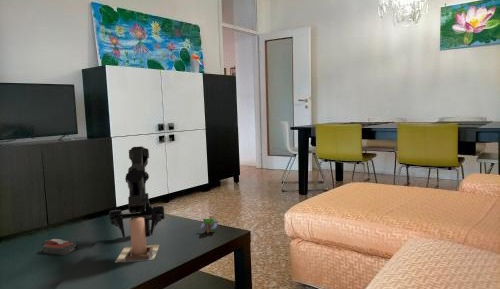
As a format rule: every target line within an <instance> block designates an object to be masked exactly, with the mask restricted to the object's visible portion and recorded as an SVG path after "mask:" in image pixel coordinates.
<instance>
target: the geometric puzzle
mask: <svg viewBox="0 0 500 289" xmlns="http://www.w3.org/2000/svg"><path fill="white" fill-rule="evenodd" d="M218 225H219V222H218V220H217V219H216V218H215V217H212V216H209V218H202V222H201V225H200V228H199V229H200V230H204V231H205V232H204V233H206V234H208V235H209V234H211V233H213V232H214V233H216V230H217V227H218Z"/></svg>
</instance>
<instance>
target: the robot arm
mask: <svg viewBox="0 0 500 289" xmlns="http://www.w3.org/2000/svg"><path fill="white" fill-rule="evenodd" d="M128 159H129V160H130V161H131V166H130V167H128V169H127V173H126V174H125V182H126V183H127V188H128V189H129V190H128V191H129V194H128V195H129V196H128V197H127V198H128V199H127V201H128V203H127V207H128V208H127V209H128V211H129V212H122V209H114V210H110V211H109V213H108V218H109V222H110V225H112V226H114V227H118V228H119V230H120V232H121V236H122V239H124V240H125V239H126V234H125V226H124V220H126V219H132V218H137V217H143V218H144V221H145V234H146V237H149V236H154V233H155V232H154V231H155V230H156V227H157V225H158V223H159V222H162V220H165V219H166V218H165V206H163V205H154V206H152V205H151V204H150V200H149V199H150V198H149V193H146V190H147V189H146V183H147V182H148V180H149V178H150V175H149V173H148V171H146V167H147V165H148V163H149V160H148V159H150V151H149V149H148V148H146V147H144V146H133V147H131V148H130V149H128ZM150 221H151V222H150ZM150 224H151V225H150Z"/></svg>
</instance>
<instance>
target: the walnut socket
mask: <svg viewBox="0 0 500 289" xmlns="http://www.w3.org/2000/svg"><path fill="white" fill-rule="evenodd" d="M147 252H148V254H147V255H136V256H131V254H132V249H130V250H129V252H128V254H127V255H126V257H125V259H126V261H132V260H144V259H149V258H150V256H151V254H152V252H153V247H147Z"/></svg>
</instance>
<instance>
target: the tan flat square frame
mask: <svg viewBox="0 0 500 289" xmlns="http://www.w3.org/2000/svg"><path fill="white" fill-rule="evenodd" d="M160 246H161V244H152V245H146V247H153V252H152V254H151V256H150V258H149V259H144V260H132V261H126V259H125V257H126V255H127V254H128V252H129V250H130V249H132V248H131V246H127V247H123V249H122V250H121V252H120V254H119V255H118V257H117V258H116V260H115V261H114V263H131V262H143V261H152V260H155V259H156V258H155V257H156V255H157V253H158V251H159V249H160V248H159V247H160ZM147 254H148V252H147ZM131 256H132V254H131Z"/></svg>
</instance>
